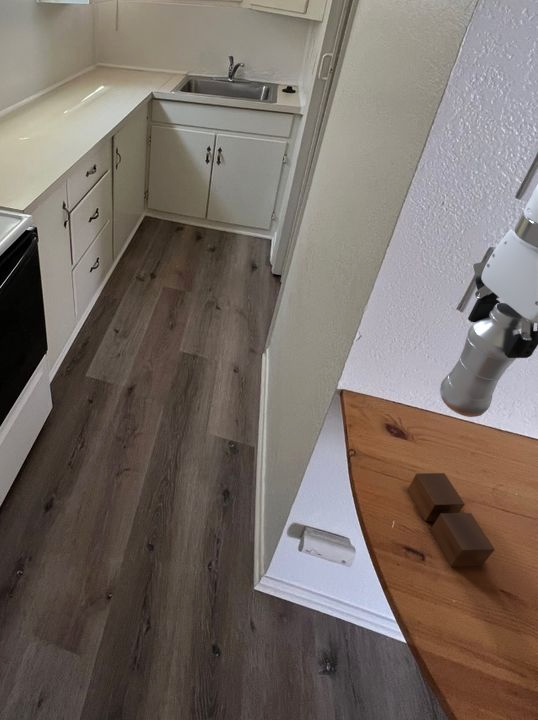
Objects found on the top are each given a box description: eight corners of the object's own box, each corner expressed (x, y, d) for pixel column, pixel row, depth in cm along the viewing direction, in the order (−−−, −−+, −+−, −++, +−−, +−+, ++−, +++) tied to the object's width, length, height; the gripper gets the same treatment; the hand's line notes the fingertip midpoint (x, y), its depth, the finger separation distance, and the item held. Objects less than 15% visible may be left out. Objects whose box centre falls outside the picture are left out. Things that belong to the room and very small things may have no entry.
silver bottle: (492, 415, 69) (551, 320, 59) (464, 428, 66) (521, 332, 57) (453, 383, 74) (501, 292, 65) (425, 395, 72) (472, 302, 62)
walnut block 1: (434, 489, 73) (444, 472, 71) (453, 520, 69) (465, 504, 67) (407, 490, 73) (416, 473, 71) (424, 521, 69) (435, 504, 66)
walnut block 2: (459, 529, 68) (470, 512, 66) (481, 566, 63) (495, 549, 61) (429, 530, 68) (440, 513, 65) (450, 566, 63) (462, 550, 61)
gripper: (656, 275, 47) (575, 386, 56) (525, 203, 63) (477, 299, 71) (591, 275, 47) (520, 387, 55) (476, 203, 63) (433, 299, 71)
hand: (496, 337), depth 63 cm, fingers closed on silver bottle, 6 cm apart
